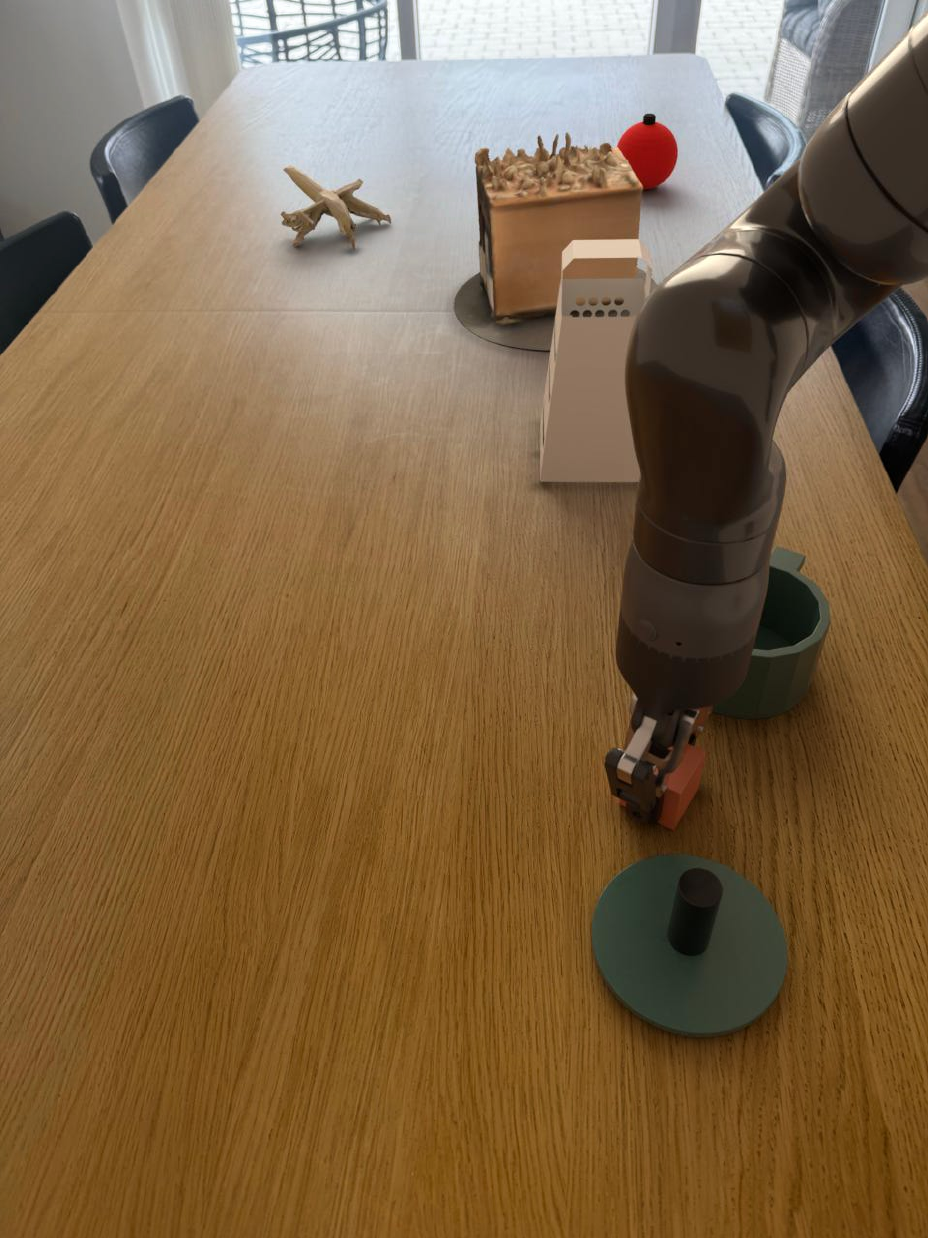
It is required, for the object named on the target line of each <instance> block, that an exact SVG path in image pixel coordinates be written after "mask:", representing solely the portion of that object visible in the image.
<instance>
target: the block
mask: <svg viewBox="0 0 928 1238" xmlns="http://www.w3.org/2000/svg"><path fill="white" fill-rule="evenodd" d="M667 749H670V750H672V749H673V747H670V748H667ZM706 755H707V751H705V750H704V749H702V748H699V747H697V746H696V745H695V746H692V745H690V744H687V748H686V751H685V755H684V758H683V761H682V762H681V764H680V765H679V766H678V767H677V769H676V770H675V771H674V772H673V773H670V777H669V780H668V784H667V787H668V788H667V791H666V792H665V796H664V801H663V807H662V812H661V817H660V819H659V820H658V822H657V824H659V825H661V826H663V827H665V828H667V829H669V830H671V831H675V829H676V828H677V826H678V824H679V823H680V820H681V819H682V818H683V816H684V814H685V812H686V811H687V809H688V807H689V805H690V804H691V802H692V801H693V799H694V798H695V796H696V794H697V792H698V790H699V787H700V783H701V779H702V774H703V769H704V766H705V765H704V764H705V760H706ZM654 774H655V775H658V769H657V768H656V770H655V772H654ZM618 804H619V805H620V806H622V807H624V808H626V802H625V801H623V800H621V799H619V798H618Z"/></svg>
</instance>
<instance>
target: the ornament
mask: <svg viewBox="0 0 928 1238" xmlns="http://www.w3.org/2000/svg"><path fill="white" fill-rule="evenodd" d="M656 117H657V116H656V115H655V114H654V113H645V114H644V115H643V117H642V121H639V122H637V123H635V124H632V125H631V126H630V127H628V128H627V129H626V130H625V131H624V132H623V134H622V135H621V136H620V138H619V140H618V142H617V145H616V147H618V148H619V150H620V151H621V152H622V154H623V156H624V157H625V159H626V160H628V161H629V164H630V165H631V167H632V169H633V171H634V173H635V175H636V176H637V178H638V180H639V181H640V183H641V184H642V186H643V190H650V189H655V188H657V187H659V186H660V185H662V184H663V183H665V182H666V181H667V180H668V179H669V178H670V177H671V176H672V174H673V172H674V170H675V168H676V166H677V161H678V158H679V157H678V156H679V149H678V148H679V147H678V143H677V140H676V137H675V135H674V134H673V132H672V131H671V130H670V129H669V128H668V127H667V126H666V125H664V124H663V123H661V122H659V121H656V119H657V118H656Z"/></svg>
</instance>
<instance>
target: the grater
mask: <svg viewBox="0 0 928 1238" xmlns="http://www.w3.org/2000/svg"><path fill="white" fill-rule="evenodd" d="M574 258H640V259H641V258H642V260H644V262H645V263H646V271H645V273H646V282H645V284H644V278H619V279H562V275H563V269H564V268H565V267H566V266H567V265H568V264H569V263H570V262H571V261H572V260H573V259H574ZM652 271H653V268H652V263H651V257H650V251H649V250H648V248H647V247H646V246H645V245H644V243H643V242H642V241H641V239H640V238H639V239H619V240H573V241H572V242H571V243H570V244H569V245H568V246H567V247H566V248H565V249H564V250H563V252H562V271H561V281H560V288H559V295H558V302H557V309H556V316H555V323H554V330H553V337H552V344H551V350H549V358H548V365H547V372H546V379H545V387H544V393H543V399H542V407H541V415H540V421H539V425H540V427H539V429H540V430H539V431H540V432H539V440H540V441H539V482H540V483H639V478H640V469H639V465H638V462H637V458H636V454H635V450H634V444H633V438H632V432H631V425H630V419H629V413H628V407H627V401H626V393H625V360H626V354H627V348H628V343H629V339H630V335H631V331H632V328H633V325H634V322H635V320H636V317H637V314H638V312H639V310H640V308H641V307H642V305H643V303H644V301H645V300H646V299H647V297H648V296H649V294H650V284H651V278H652V273H653V272H652ZM579 297H582V298H584V299H585V304H584V305H582V306H578V305H577V304H576V299H577V298H579ZM592 297H595V298H597V299H598V303H597V304H596V305H594V306H591V305H590V304H589V302H588V301H589V299H590V298H592ZM604 297H609V298H610V299H611V303H610V304H609V305H607V306H605V305H603V304H602V302H601V301H602V299H603V298H604ZM617 297H622V298H623V299H624V302H623V304H622V305H619V306H618V305H616V304H615V303H614V300H615V299H616V298H617ZM573 310H577V311H578V312H579V314H580V315H579V317H572V316H573V315H570V313H571V312H572V311H573ZM585 310H590V311H591V312H592V316H591V317H583V315H582V314H583V312H584V311H585ZM597 310H603V311H604V316H603V317H596V316H595V312H596V311H597ZM610 310H616V311H617V313H618V314H617V316H616V317H609V316H608V312H609V311H610ZM623 310H628V311H629V312H630V316H629V317H621V312H622V311H623Z"/></svg>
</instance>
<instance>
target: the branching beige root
mask: <svg viewBox="0 0 928 1238" xmlns="http://www.w3.org/2000/svg"><path fill="white" fill-rule="evenodd" d="M282 170H283V172H285V173H286V174H287V175H288V177H289V179H290V180H291V181H292V182H293V183H294V184H295V186H296V187H297V188H299V189H300V191H301V192H303V194H305V195H306V196H307V197H308V198H309V199H310V200H311V201H313V202H314V203H313V204H311V205H309V206H307V207H305V208H302V209H299V210H298V209H297V210H295V211H294V212H292V213H286V211H281V213H280V216H281V217H282V218H283V220H282V221H281V225H282V226H284V227H287V228H291V230H292V231H294V232H297V233H296V235H295V238H294V241H293V243H292V247H298V246H299V247H301V243H303V242H304V240H305V236H306V235H308V234H309V233H311V232H312V231H314V230H316V227H317V226H318V224H319V222H320V221H321V219H322V216H323V215H324V214H325V215H326V216H328V217H332V218H334V219H335V220H336V222H337V226H338V228H339V232H340V233H341V234H342V235H343V236H346V237H347V238H348V242H349V243H350V244H351V248H352V249H355V248H356V238H355V235H354V232H355V231H356V228H357V223H355V222H354V221H353V219H352V217H351V214H352V215H354V216H356V217H359V218H360V217H361V218H365V219H370V220H374V221H376V222H377V223H378V224H379V225H381V221H386V222H388V224H389V225H392V218H391V215H390V214H385V213H384V212H382V210H380V209H379V208H378V207H376V206H374V205H372V204H369V203H368V202H366V201H363V200H362V199H360V198H358V197H356V196H354V195H353V194H354V193H355V191H357V190H359V189H361V187H362V186H363V184H364V181H363V180H362V179H361V178H358V179H357V180H356V181H353V182H351V183H348V184H346V185H344V186H342V187H340V188H338V189H325V188H324V187H323V186H322V185H321V184H319V183H318V182H317V181H315V180H314V179H313V178H312V177H310V176H309V175H307V174H306V173H304V172H303V171H301V170H300V169H298V168H297V167H295V166H293V165H288V166H286V167H285V168H283V169H282Z"/></svg>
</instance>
